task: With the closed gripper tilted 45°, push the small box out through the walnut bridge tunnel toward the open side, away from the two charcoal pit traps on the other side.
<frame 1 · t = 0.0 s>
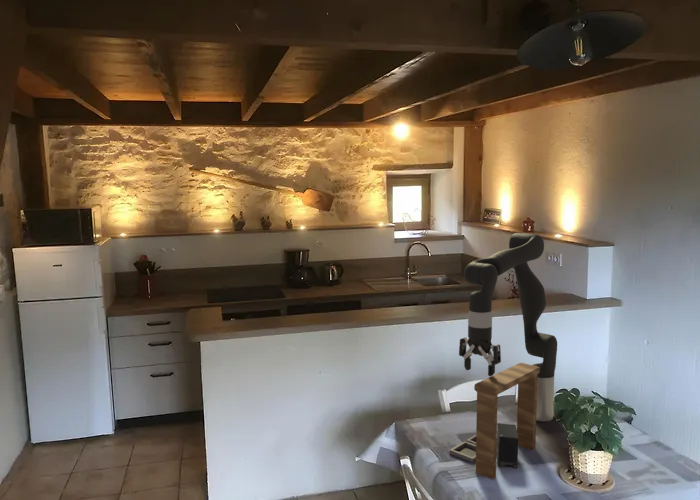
hand: (479, 372, 182), 29 cm above the table, tool pointing down, fingers open, 8 cm apart
tunnel: (506, 460, 184), on the table
pit traps: (476, 448, 192), on the table
small box: (506, 460, 184), on the table
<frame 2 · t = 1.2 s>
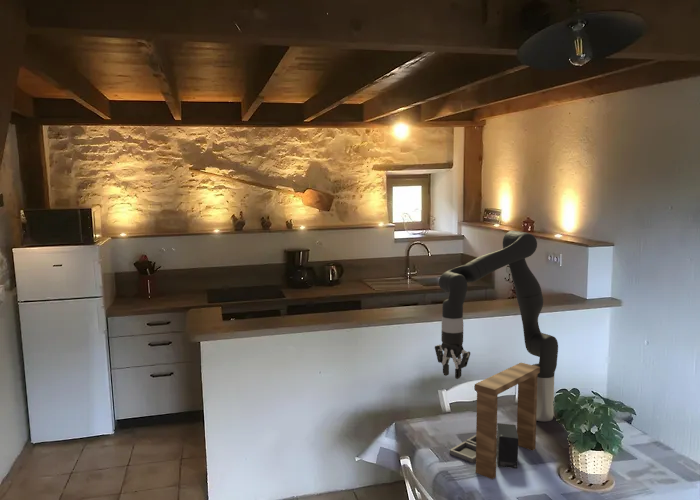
hand: (451, 376, 196), 23 cm above the table, tool pointing down, fingers open, 4 cm apart
nothing on the table moved.
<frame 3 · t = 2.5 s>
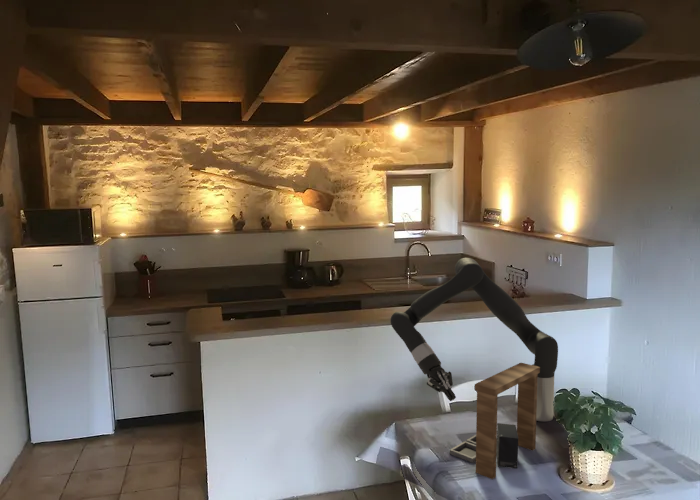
hand: (453, 399, 197), 15 cm above the table, tool tilted 45°, fingers closed
nothing on the table moved.
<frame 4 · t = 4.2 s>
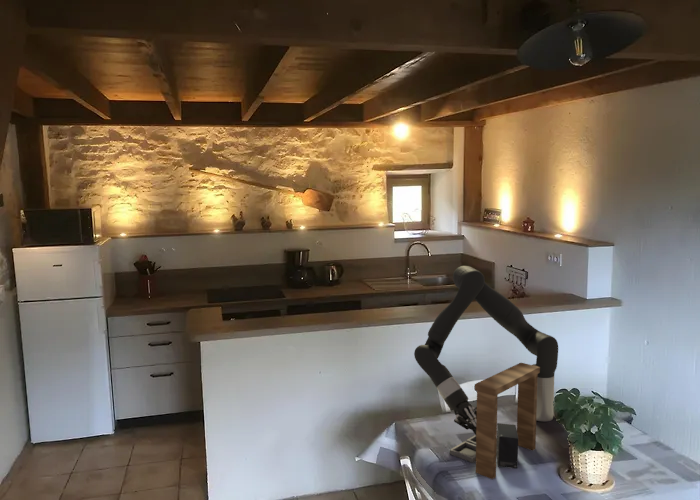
hand: (481, 437, 190), 5 cm above the table, tool tilted 45°, fingers closed
nothing on the table moved.
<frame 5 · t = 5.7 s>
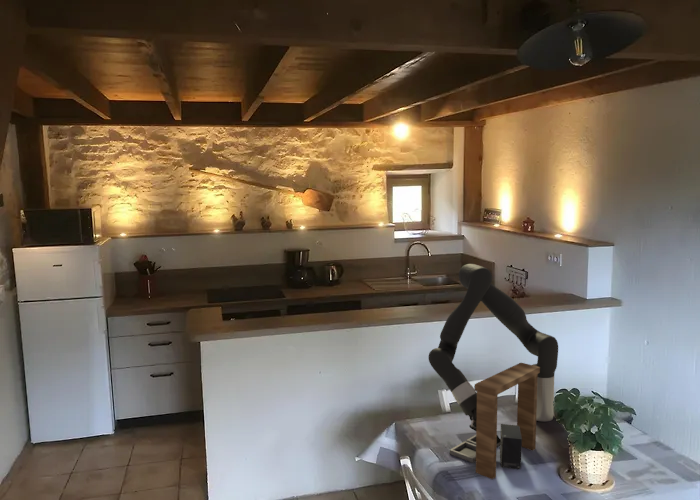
hand: (497, 443, 185), 5 cm above the table, tool tilted 45°, fingers closed
small box: (510, 461, 183), on the table, touching gripper
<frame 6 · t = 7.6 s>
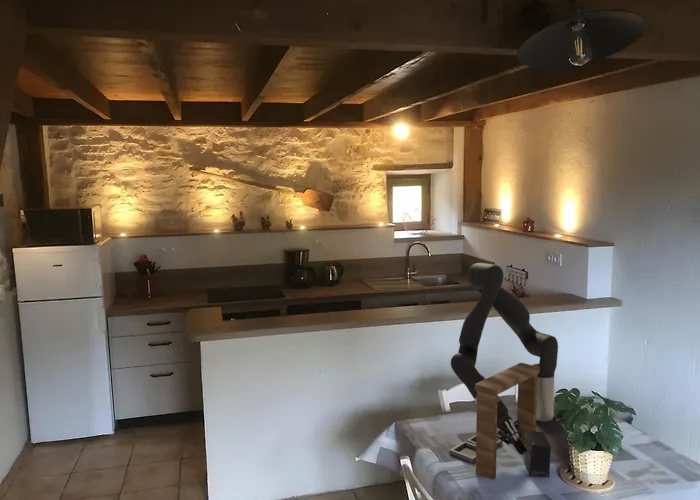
hand: (523, 452, 178), 5 cm above the table, tool tilted 45°, fingers closed
small box: (536, 469, 178), on the table, touching gripper
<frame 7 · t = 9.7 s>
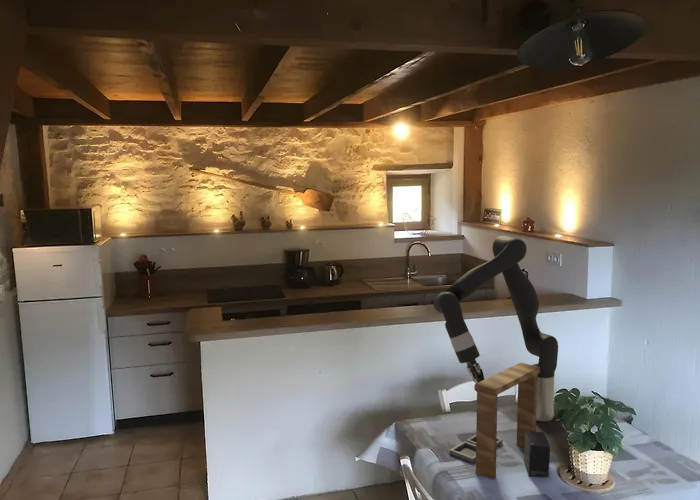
hand: (484, 394, 191), 19 cm above the table, tool tilted 25°, fingers closed
small box: (536, 469, 178), on the table
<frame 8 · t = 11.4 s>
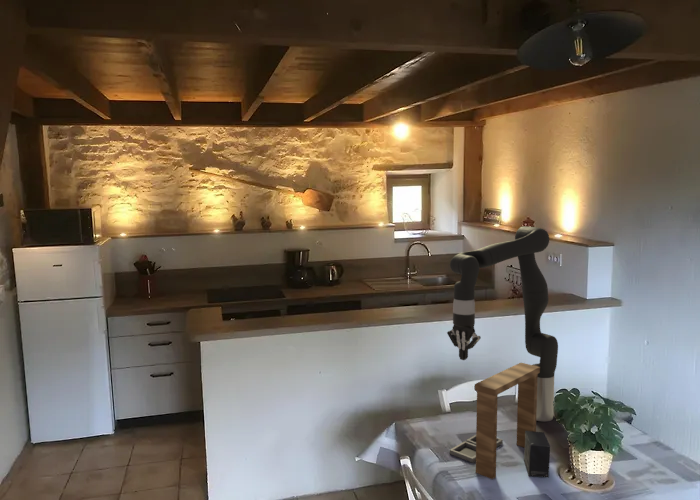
hand: (463, 359, 197), 29 cm above the table, tool pointing down, fingers closed
nothing on the table moved.
at the end: small box inside the target area (4.0 cm from its centre), on the table; small box tilted 0°; small box touching table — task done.
